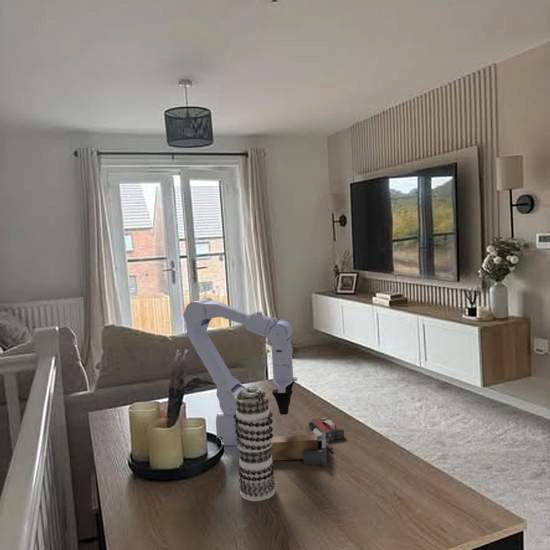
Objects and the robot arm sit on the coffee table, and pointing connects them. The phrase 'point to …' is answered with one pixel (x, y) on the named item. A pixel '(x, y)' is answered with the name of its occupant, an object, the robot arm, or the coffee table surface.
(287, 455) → the brown long rectangular block
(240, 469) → the decorative candle
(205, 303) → the robot arm
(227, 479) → the coffee table surface
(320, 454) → the bracket
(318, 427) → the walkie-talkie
